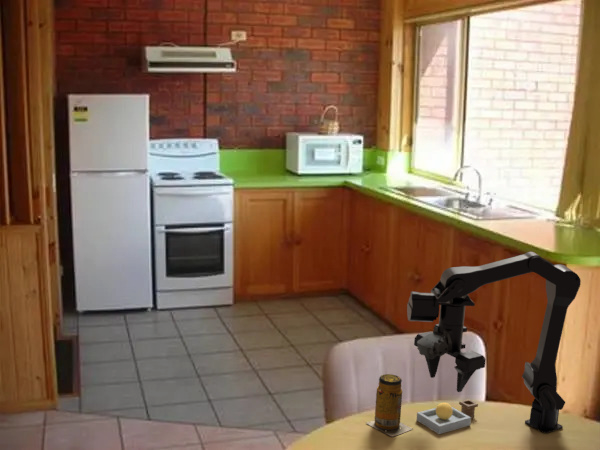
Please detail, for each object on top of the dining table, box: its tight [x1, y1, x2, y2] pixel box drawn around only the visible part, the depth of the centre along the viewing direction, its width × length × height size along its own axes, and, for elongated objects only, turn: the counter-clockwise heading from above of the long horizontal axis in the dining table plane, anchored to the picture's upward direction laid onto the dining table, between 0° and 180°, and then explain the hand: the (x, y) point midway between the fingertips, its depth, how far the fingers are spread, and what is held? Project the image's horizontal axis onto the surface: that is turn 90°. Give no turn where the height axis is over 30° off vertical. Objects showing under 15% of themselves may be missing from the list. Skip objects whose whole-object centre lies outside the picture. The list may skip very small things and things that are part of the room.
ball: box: [435, 402, 453, 420], centre depth 179 cm, size 4×4×4 cm
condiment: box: [366, 373, 413, 437], centre depth 175 cm, size 7×8×12 cm
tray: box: [416, 406, 472, 435], centre depth 179 cm, size 10×8×2 cm
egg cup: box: [458, 398, 479, 419], centre depth 184 cm, size 3×3×3 cm
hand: (445, 384), depth 177 cm, fingers open, 9 cm apart
